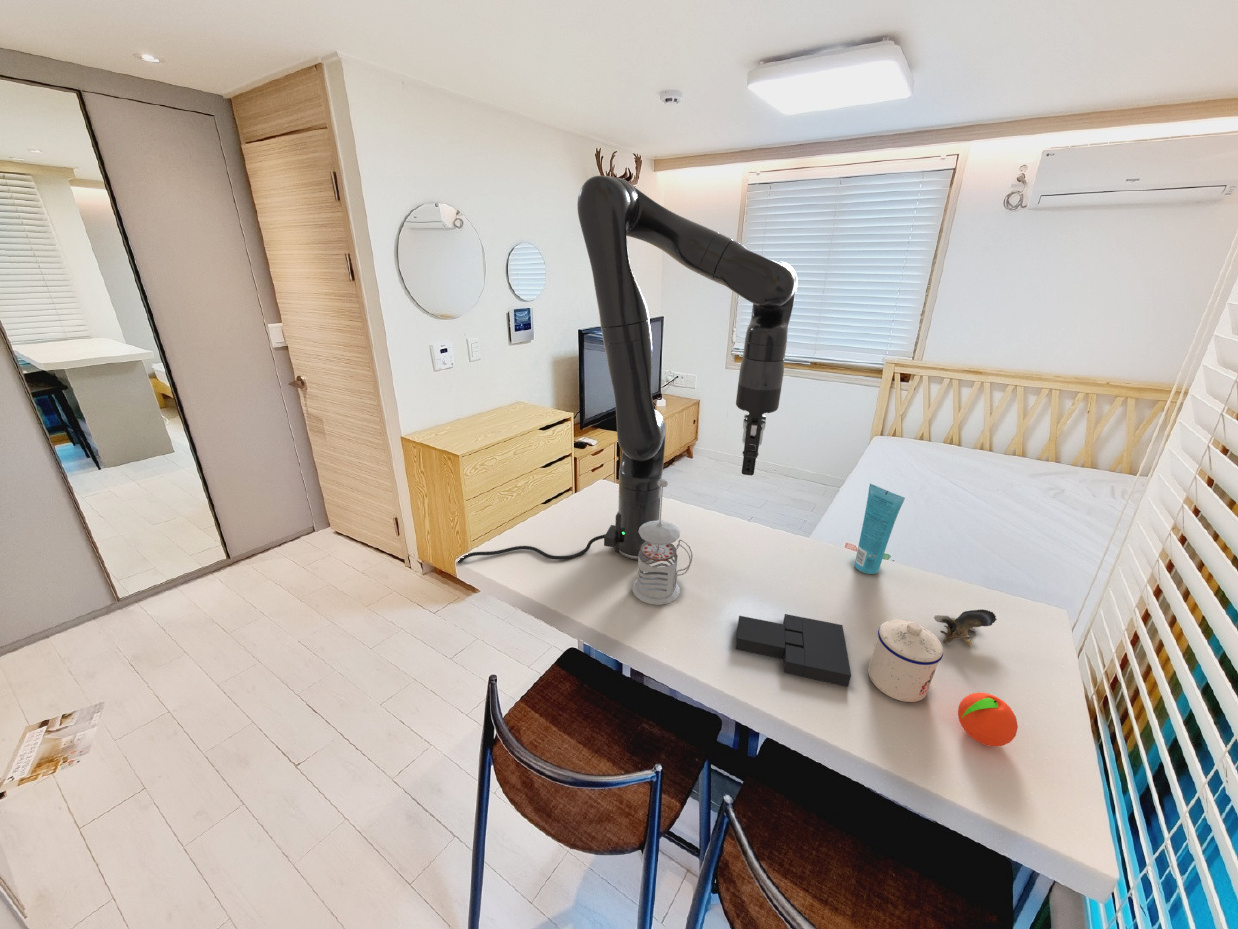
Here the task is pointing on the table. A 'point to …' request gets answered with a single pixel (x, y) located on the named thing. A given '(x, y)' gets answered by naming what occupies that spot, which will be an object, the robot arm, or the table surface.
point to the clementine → (987, 719)
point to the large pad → (817, 651)
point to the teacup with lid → (904, 660)
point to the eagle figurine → (965, 624)
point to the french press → (658, 580)
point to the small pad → (765, 637)
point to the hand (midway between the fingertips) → (748, 465)
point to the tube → (876, 528)
